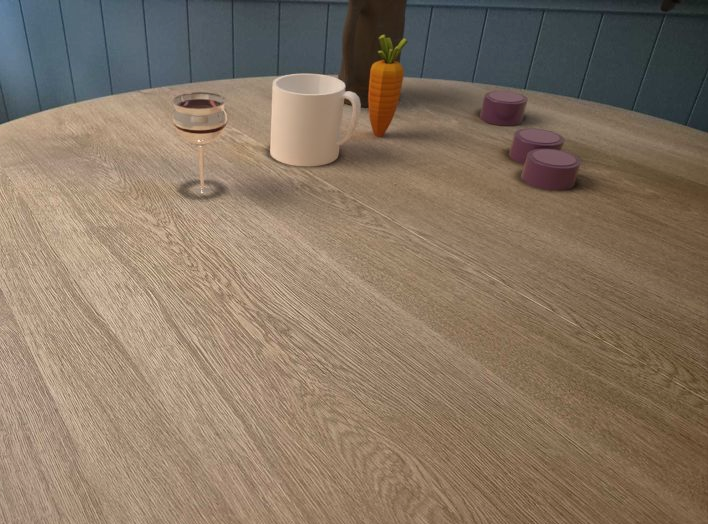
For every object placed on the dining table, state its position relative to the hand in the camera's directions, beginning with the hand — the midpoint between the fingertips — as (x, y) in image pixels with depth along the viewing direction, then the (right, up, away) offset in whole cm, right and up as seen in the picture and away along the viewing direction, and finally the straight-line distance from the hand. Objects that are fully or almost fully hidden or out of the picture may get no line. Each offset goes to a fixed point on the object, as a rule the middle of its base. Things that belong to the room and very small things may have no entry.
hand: (622, 3), depth 77 cm
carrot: (-23, -8, +26) cm, 36 cm away
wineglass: (-49, -20, +10) cm, 54 cm away
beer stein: (-23, +4, +40) cm, 47 cm away
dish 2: (-2, -13, +20) cm, 23 cm away
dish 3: (-3, -18, +13) cm, 22 cm away
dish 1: (-1, -2, +34) cm, 34 cm away
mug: (-34, -12, +20) cm, 41 cm away
